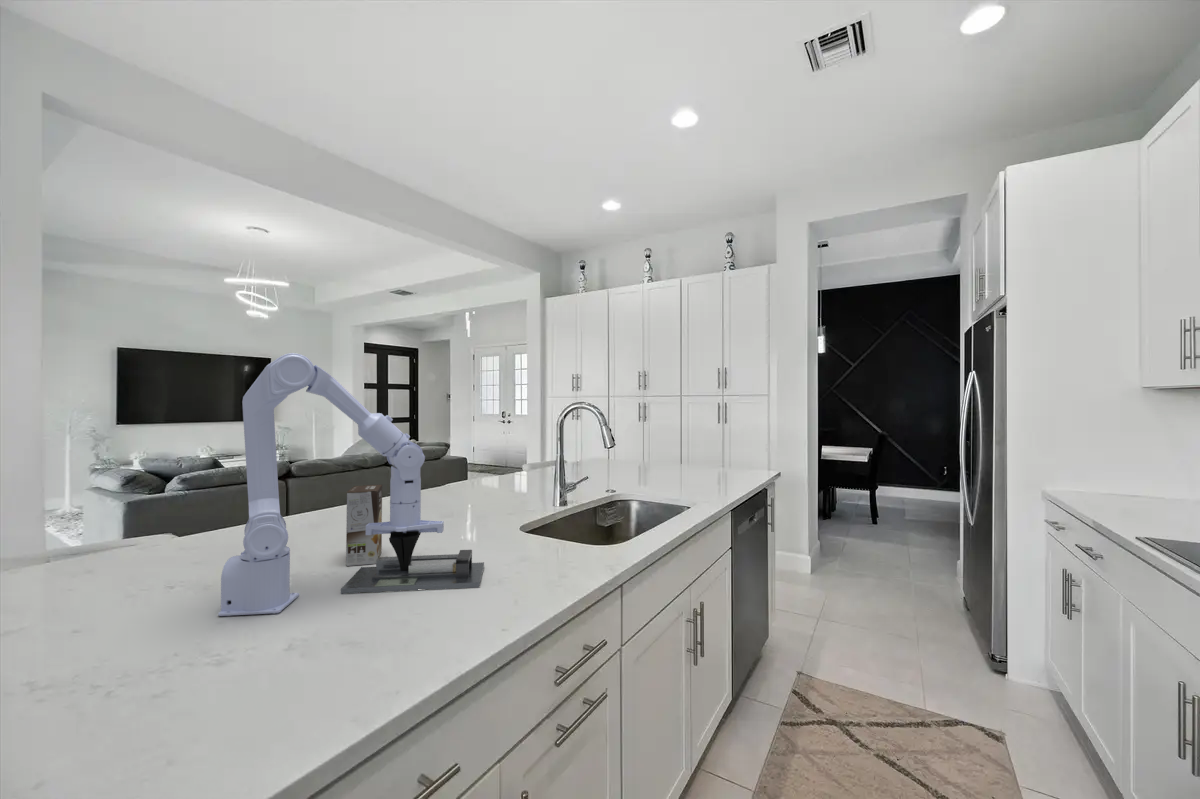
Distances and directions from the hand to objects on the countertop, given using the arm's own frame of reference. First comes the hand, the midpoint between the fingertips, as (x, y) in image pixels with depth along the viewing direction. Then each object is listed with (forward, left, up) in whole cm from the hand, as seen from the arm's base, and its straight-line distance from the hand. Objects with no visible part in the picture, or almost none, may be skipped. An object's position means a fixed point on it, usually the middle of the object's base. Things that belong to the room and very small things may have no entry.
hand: (405, 569), depth 101 cm
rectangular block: (+6, 0, -1) cm, 6 cm away
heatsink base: (+3, 0, -2) cm, 3 cm away
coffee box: (-12, +15, -2) cm, 19 cm away
